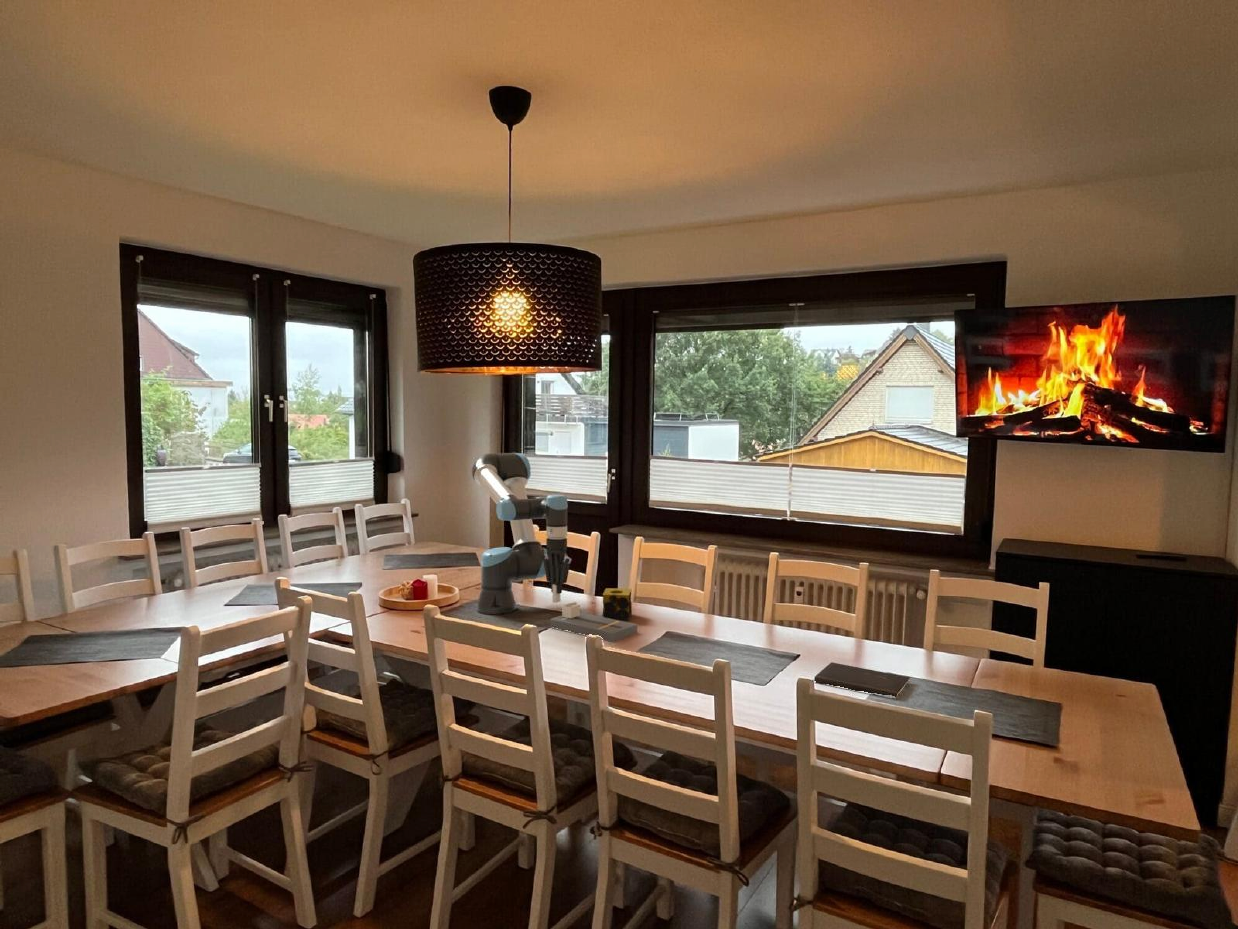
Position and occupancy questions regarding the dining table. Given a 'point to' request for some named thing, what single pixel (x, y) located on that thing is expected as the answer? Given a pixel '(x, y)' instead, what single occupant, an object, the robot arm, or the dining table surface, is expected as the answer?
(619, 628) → the fader board
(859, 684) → the hardcover book
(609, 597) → the candle
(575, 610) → the fader tab
